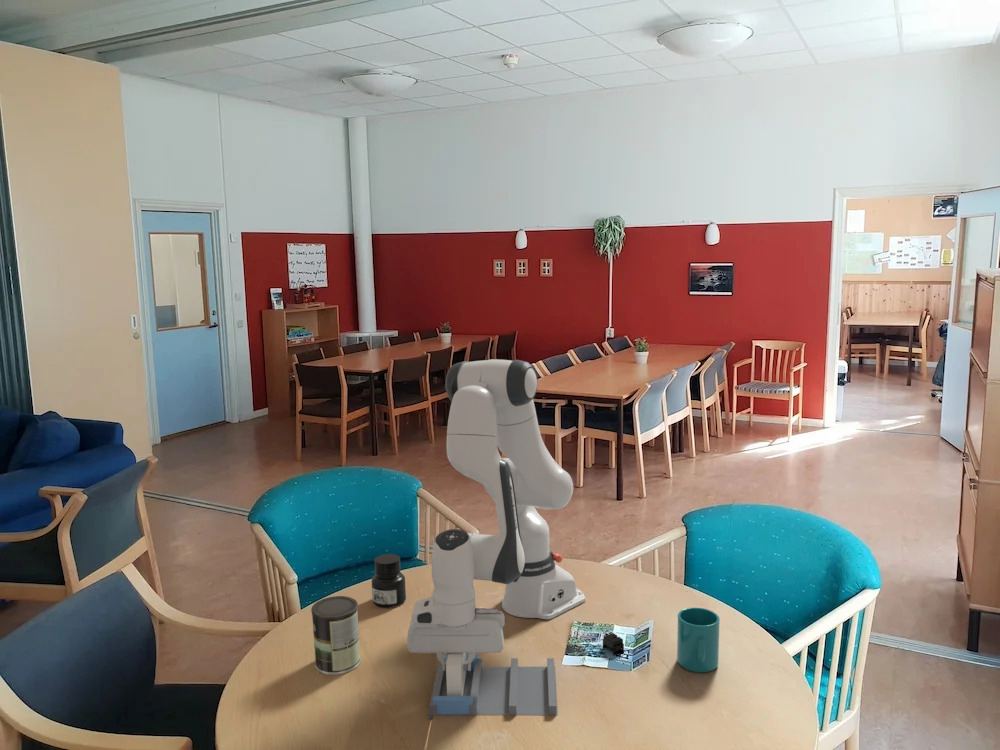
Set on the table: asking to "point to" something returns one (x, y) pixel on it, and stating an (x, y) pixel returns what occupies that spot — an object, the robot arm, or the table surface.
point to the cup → (698, 639)
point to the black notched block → (614, 643)
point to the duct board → (498, 691)
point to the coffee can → (336, 635)
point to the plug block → (455, 674)
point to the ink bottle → (388, 582)
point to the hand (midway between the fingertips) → (456, 669)
